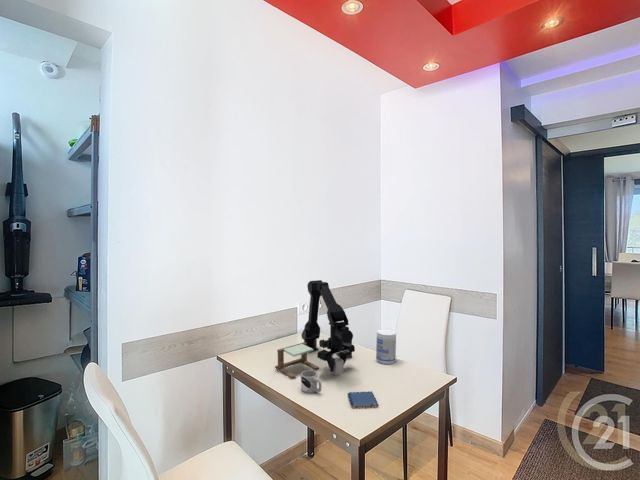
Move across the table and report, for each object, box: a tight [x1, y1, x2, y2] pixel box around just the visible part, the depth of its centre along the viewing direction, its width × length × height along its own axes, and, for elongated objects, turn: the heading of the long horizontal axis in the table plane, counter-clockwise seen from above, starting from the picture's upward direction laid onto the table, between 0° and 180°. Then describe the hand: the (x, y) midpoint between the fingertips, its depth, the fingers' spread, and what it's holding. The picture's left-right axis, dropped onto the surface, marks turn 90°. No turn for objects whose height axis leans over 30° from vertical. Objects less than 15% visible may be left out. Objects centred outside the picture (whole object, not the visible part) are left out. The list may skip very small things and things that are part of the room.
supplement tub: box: [375, 328, 397, 365], centre depth 165 cm, size 10×10×15 cm
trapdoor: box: [283, 343, 314, 357], centre depth 155 cm, size 9×11×1 cm
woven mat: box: [347, 390, 380, 410], centre depth 127 cm, size 10×11×2 cm
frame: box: [274, 341, 320, 380], centre depth 156 cm, size 14×16×10 cm
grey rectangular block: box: [329, 356, 344, 376], centre depth 152 cm, size 4×4×6 cm
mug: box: [300, 369, 322, 394], centre depth 136 cm, size 10×7×7 cm, turn 47°
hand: (336, 369), depth 152 cm, fingers open, 6 cm apart
